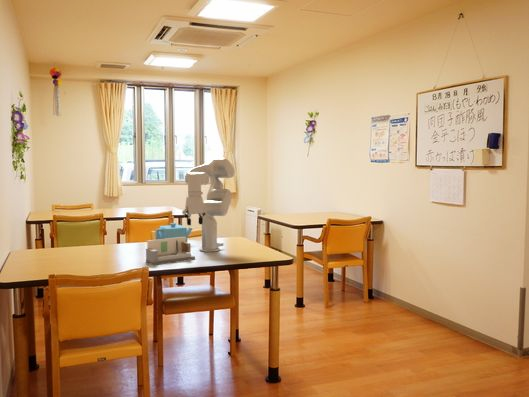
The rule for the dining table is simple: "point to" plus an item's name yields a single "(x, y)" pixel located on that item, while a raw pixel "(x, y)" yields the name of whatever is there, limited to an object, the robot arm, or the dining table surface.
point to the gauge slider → (183, 248)
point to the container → (172, 231)
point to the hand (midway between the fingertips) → (194, 224)
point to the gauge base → (166, 251)
